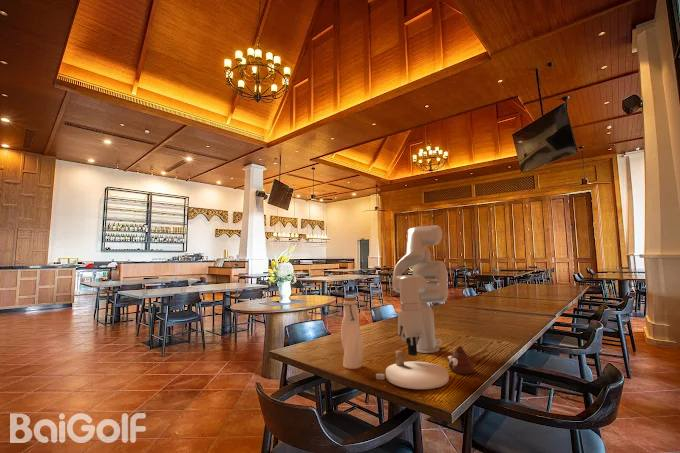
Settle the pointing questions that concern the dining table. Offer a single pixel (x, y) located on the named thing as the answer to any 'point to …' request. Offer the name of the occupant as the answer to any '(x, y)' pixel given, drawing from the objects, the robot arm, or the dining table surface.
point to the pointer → (380, 376)
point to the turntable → (416, 374)
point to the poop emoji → (460, 362)
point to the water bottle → (351, 334)
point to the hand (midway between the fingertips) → (412, 354)
